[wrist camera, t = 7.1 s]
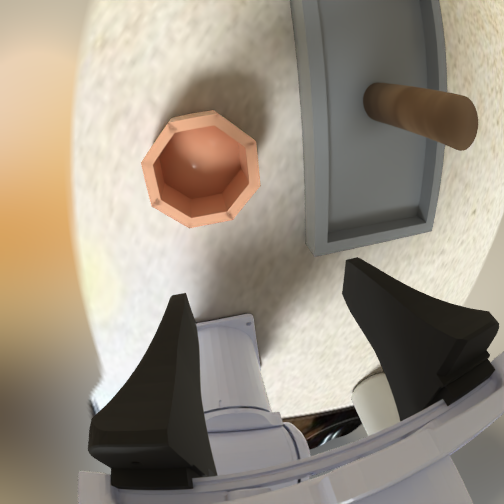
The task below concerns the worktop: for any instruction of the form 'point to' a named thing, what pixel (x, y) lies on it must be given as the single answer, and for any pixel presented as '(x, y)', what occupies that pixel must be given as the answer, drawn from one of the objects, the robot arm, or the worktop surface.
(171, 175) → the cup
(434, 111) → the pin
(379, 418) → the can
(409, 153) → the tray
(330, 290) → the worktop surface
